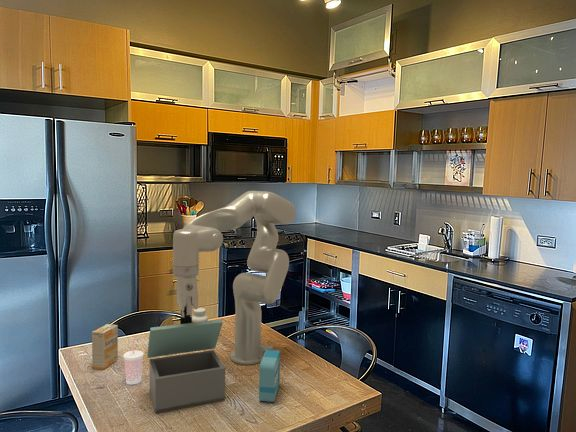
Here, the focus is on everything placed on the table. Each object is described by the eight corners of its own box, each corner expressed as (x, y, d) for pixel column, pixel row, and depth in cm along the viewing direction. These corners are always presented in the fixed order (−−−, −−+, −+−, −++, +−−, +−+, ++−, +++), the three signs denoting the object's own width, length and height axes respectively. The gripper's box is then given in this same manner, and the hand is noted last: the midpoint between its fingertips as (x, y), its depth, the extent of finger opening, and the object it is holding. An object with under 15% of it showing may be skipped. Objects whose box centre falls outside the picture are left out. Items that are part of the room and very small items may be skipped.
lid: (215, 348, 141) (214, 345, 142) (222, 322, 132) (222, 319, 133) (147, 357, 132) (147, 355, 133) (150, 330, 123) (150, 327, 124)
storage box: (213, 379, 142) (213, 350, 141) (224, 400, 129) (225, 368, 128) (149, 390, 133) (149, 359, 132) (155, 413, 121) (155, 379, 120)
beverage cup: (136, 374, 143) (135, 334, 142) (147, 380, 140) (147, 338, 138) (119, 381, 138) (119, 339, 137) (131, 387, 135) (130, 344, 133)
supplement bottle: (205, 344, 170) (206, 312, 169) (188, 343, 170) (189, 312, 169) (209, 337, 177) (209, 307, 176) (192, 337, 177) (193, 306, 176)
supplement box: (104, 370, 146) (104, 332, 145) (91, 368, 147) (91, 331, 145) (118, 360, 154) (118, 324, 153) (106, 358, 155) (106, 323, 154)
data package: (273, 404, 128) (274, 365, 126) (258, 402, 128) (259, 364, 127) (279, 384, 139) (280, 349, 138) (265, 383, 140) (266, 348, 139)
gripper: (204, 275, 124) (203, 336, 126) (193, 264, 138) (193, 320, 140) (177, 277, 121) (177, 340, 123) (169, 265, 135) (169, 322, 137)
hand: (186, 329), depth 131 cm, fingers closed
